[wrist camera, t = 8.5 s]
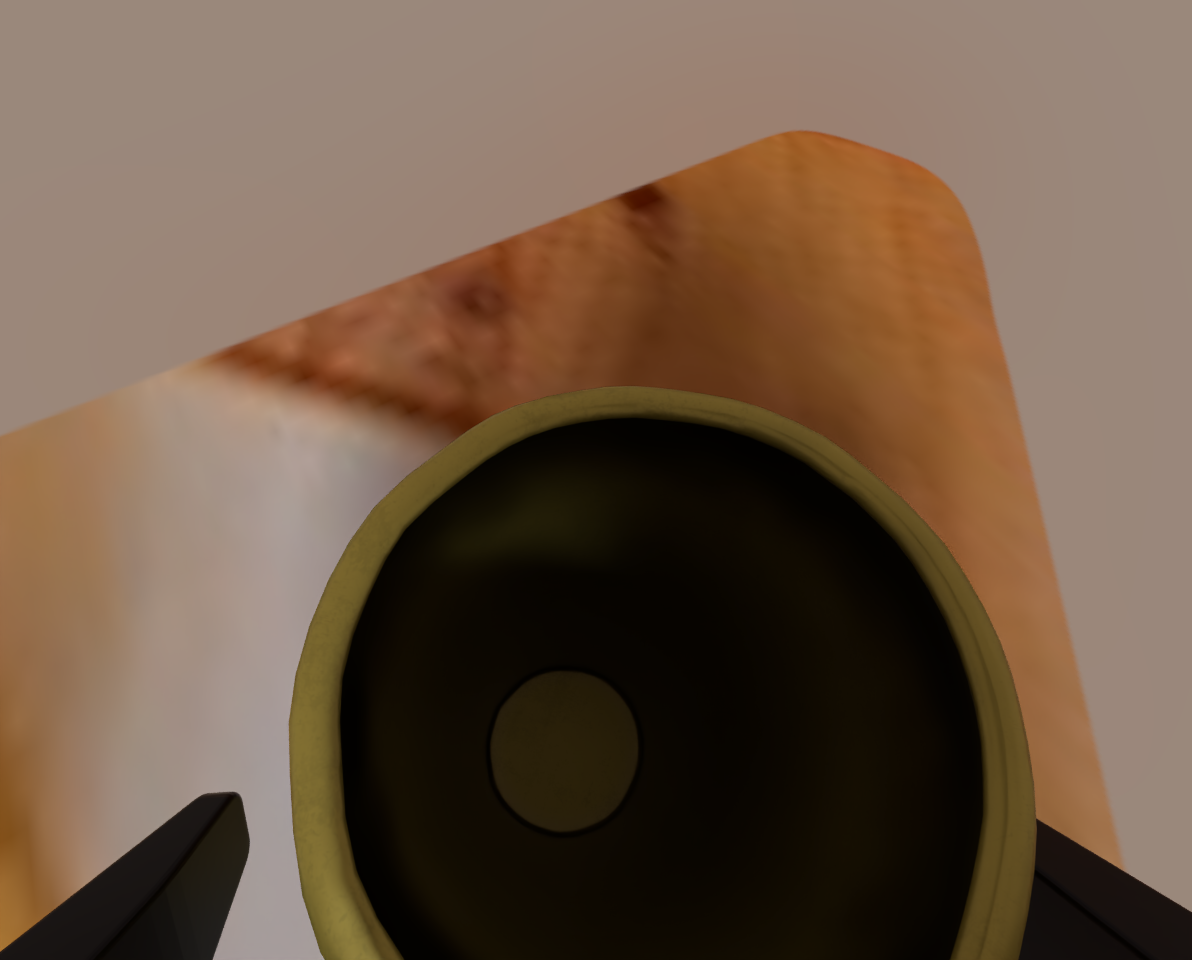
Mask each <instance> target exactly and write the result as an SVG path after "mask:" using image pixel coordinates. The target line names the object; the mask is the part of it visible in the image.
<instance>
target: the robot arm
mask: <svg viewBox="0 0 1192 960" xmlns="http://www.w3.org/2000/svg"><path fill="white" fill-rule="evenodd" d="M1036 825H1037V834H1036V852H1035V870H1034V878H1033V885H1032V892H1031V898H1030V905H1029V912H1028V917H1027V922H1026V927H1025V931H1024V936H1023V941H1022V945H1021V950H1020V955H1019V959H1018V960H1192V912H1191V911H1189V910H1187V909H1185V908H1184V907H1182V906H1181V905H1179V904H1177V903H1176V902H1174V901H1172V900H1170V899H1169V898H1167V897H1165V896H1164V895H1162V894H1161V893H1159V892H1157V891H1156V890H1154V889H1152V888H1151V887H1149V886H1147V885H1146V884H1144V883H1143V882H1141V881H1139V880H1137V879H1136V878H1134V877H1133V876H1131V875H1129V874H1128V873H1126V872H1124V871H1123V870H1121V869H1119V868H1118V867H1116V866H1114V865H1113V864H1111V863H1109V862H1108V861H1106V860H1104V859H1103V858H1101V857H1099V856H1098V855H1096V854H1094V853H1093V852H1091V851H1089V850H1088V849H1086V848H1084V847H1083V846H1081V845H1079V844H1078V843H1076V842H1074V841H1073V840H1071V839H1070V838H1068V837H1066V836H1065V835H1063V834H1061V833H1060V832H1058V831H1056V830H1055V829H1053V828H1051V827H1050V826H1048V825H1046V824H1045V823H1043V822H1041V821H1040V820H1038V819H1036ZM249 847H250V839H249V833H248V827H247V822H246V817H245V812H244V807H243V802H242V798H241V796H240V795H239V794H238V793H237V792H219V793H207V794H203V795H201V796H200V797H198V798H196V799H195V800H194V801H192V802H191V803H190V804H189V805H187V806H186V807H185V808H183V809H182V810H181V811H180V812H178V813H177V814H176V815H175V816H173V817H172V818H171V819H169V820H168V821H167V822H166V823H164V824H163V825H162V826H160V827H159V828H158V829H157V830H155V831H154V832H153V833H152V834H150V835H149V836H148V837H146V838H145V839H144V840H143V841H141V842H140V843H139V844H137V845H136V846H135V847H134V848H132V849H131V850H130V851H129V852H127V853H126V854H125V855H123V856H122V857H121V858H120V859H118V860H117V861H116V862H114V863H113V864H112V865H111V866H109V867H108V868H107V869H106V870H104V871H103V872H102V873H100V874H99V875H98V876H97V877H95V878H94V879H93V880H91V881H90V882H89V883H88V884H86V885H85V886H84V887H82V888H81V889H80V890H79V891H77V892H76V893H75V894H74V895H72V896H71V897H70V898H68V899H67V900H66V901H65V902H63V903H62V904H61V905H59V906H58V907H57V908H56V909H54V910H53V911H52V912H51V913H49V914H48V915H47V916H45V917H44V918H43V919H42V920H40V921H39V922H38V923H36V924H35V925H34V926H33V927H31V928H30V929H29V930H28V931H26V932H25V933H24V934H22V935H21V936H20V937H19V938H17V939H16V940H15V941H13V942H12V943H11V944H10V945H8V946H7V947H6V948H5V949H3V950H2V951H1V952H0V960H213V957H214V954H215V951H216V948H217V945H218V943H219V940H220V937H221V934H222V931H223V928H224V925H225V922H226V919H227V917H228V914H229V911H230V908H231V905H232V902H233V899H234V896H235V893H236V891H237V888H238V885H239V882H240V879H241V876H242V873H243V870H244V867H245V865H246V861H247V858H248V854H249Z"/></svg>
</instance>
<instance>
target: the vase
mask: <svg viewBox="0 0 1192 960" xmlns="http://www.w3.org/2000/svg"><path fill="white" fill-rule="evenodd" d="M289 754H290V784H291V801H292V818H293V834H294V841H295V847H296V854H297V861H298V868H299V875H300V882H301V889H302V896H303V899H304V902H305V905H306V908H307V911H308V915H309V918H310V921H311V924H312V927H313V930H314V934H315V937H316V940H317V943H318V946H319V949H320V952H321V954H322V956H323V957H324V959H325V960H1018V959H1019V955H1020V950H1021V945H1022V941H1023V936H1024V931H1025V927H1026V922H1027V917H1028V912H1029V905H1030V898H1031V892H1032V885H1033V878H1034V870H1035V852H1036V834H1037V825H1036V809H1035V793H1034V781H1033V774H1032V767H1031V761H1030V754H1029V747H1028V741H1027V736H1026V731H1025V727H1024V722H1023V717H1022V712H1021V708H1020V704H1019V700H1018V696H1017V692H1016V688H1015V684H1014V680H1013V676H1012V673H1011V670H1010V667H1009V664H1008V662H1007V659H1006V656H1005V653H1004V650H1003V648H1002V645H1001V642H1000V640H999V638H998V636H997V634H996V631H995V629H994V627H993V625H992V623H991V621H990V619H989V617H988V615H987V613H986V610H985V608H984V607H983V605H982V603H981V601H980V600H979V598H978V596H977V594H976V593H975V591H974V589H973V587H972V586H971V584H970V582H969V580H968V579H967V577H966V575H965V573H964V572H963V571H962V569H961V568H960V566H959V565H958V563H957V562H956V560H955V559H954V557H953V556H952V554H951V553H950V551H949V550H948V548H947V547H946V545H945V544H944V543H943V541H942V540H941V539H940V538H939V537H938V536H937V535H936V534H935V532H934V531H933V530H932V529H931V528H930V527H929V526H928V525H927V523H926V522H925V521H924V520H923V519H922V518H921V517H920V516H919V515H918V514H917V513H916V512H915V511H914V510H913V509H912V508H911V507H910V506H909V505H908V504H907V503H906V502H905V501H904V499H902V498H901V497H900V496H899V495H898V494H897V493H895V492H894V491H893V490H892V489H891V488H890V487H888V486H887V485H886V484H885V483H884V482H882V481H881V480H880V479H879V478H878V477H877V476H875V475H874V474H873V473H872V472H871V471H869V470H868V469H867V468H866V467H865V466H863V465H862V464H861V463H860V462H859V461H857V460H856V459H855V458H854V457H853V456H851V455H850V454H849V453H847V452H846V451H844V450H843V449H842V448H840V447H839V446H837V445H836V444H835V443H833V442H832V441H830V440H829V439H827V438H826V437H825V436H823V435H821V434H819V433H817V432H815V431H813V430H811V429H809V428H807V427H805V426H803V425H801V424H799V423H798V422H795V421H793V420H791V419H788V418H786V417H783V416H781V415H779V414H776V413H774V412H771V411H769V410H767V409H764V408H762V407H758V406H755V405H751V404H748V403H745V402H741V401H738V400H735V399H730V398H724V397H719V396H713V395H708V394H703V393H695V392H688V391H681V390H673V389H665V388H654V387H642V386H610V387H601V388H595V389H588V390H581V391H575V392H569V393H564V394H558V395H552V396H547V397H544V398H541V399H537V400H534V401H530V402H527V403H523V404H520V405H516V406H514V407H511V408H509V409H507V410H504V411H502V412H500V413H497V414H495V415H493V416H491V417H489V418H488V419H486V420H484V421H483V422H481V423H480V424H478V425H476V426H475V427H473V428H471V429H470V430H468V431H467V432H465V433H464V434H463V435H461V436H460V437H458V438H457V439H456V440H454V441H453V442H452V443H450V444H449V445H448V446H446V447H445V448H444V449H442V450H441V451H440V452H438V453H437V454H436V455H434V456H433V457H432V458H430V459H429V460H428V461H426V462H425V463H424V464H422V465H421V466H420V467H418V468H417V469H416V470H414V471H413V472H412V473H410V474H409V475H408V476H406V477H405V478H404V479H403V480H402V481H401V482H400V483H399V484H398V485H397V486H396V487H395V488H394V489H393V490H392V491H391V492H390V493H389V494H388V495H386V496H385V497H384V498H383V499H382V500H381V501H380V502H379V503H378V504H377V505H376V506H375V507H374V508H373V509H372V511H371V512H370V514H369V515H368V516H367V518H366V519H365V521H364V522H363V523H362V525H361V526H360V528H359V529H358V530H357V532H356V533H355V535H354V536H353V537H352V539H351V540H350V542H349V544H348V545H347V547H346V549H345V551H344V553H343V554H342V556H341V558H340V560H339V562H338V564H337V565H336V567H335V569H334V571H333V573H332V574H331V576H330V578H329V580H328V583H327V585H326V587H325V590H324V592H323V595H322V597H321V599H320V602H319V604H318V607H317V609H316V611H315V614H314V616H313V619H312V621H311V623H310V626H309V629H308V633H307V636H306V640H305V643H304V647H303V651H302V654H301V658H300V661H299V665H298V668H297V672H296V676H295V683H294V690H293V697H292V704H291V711H290V718H289Z"/></svg>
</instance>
